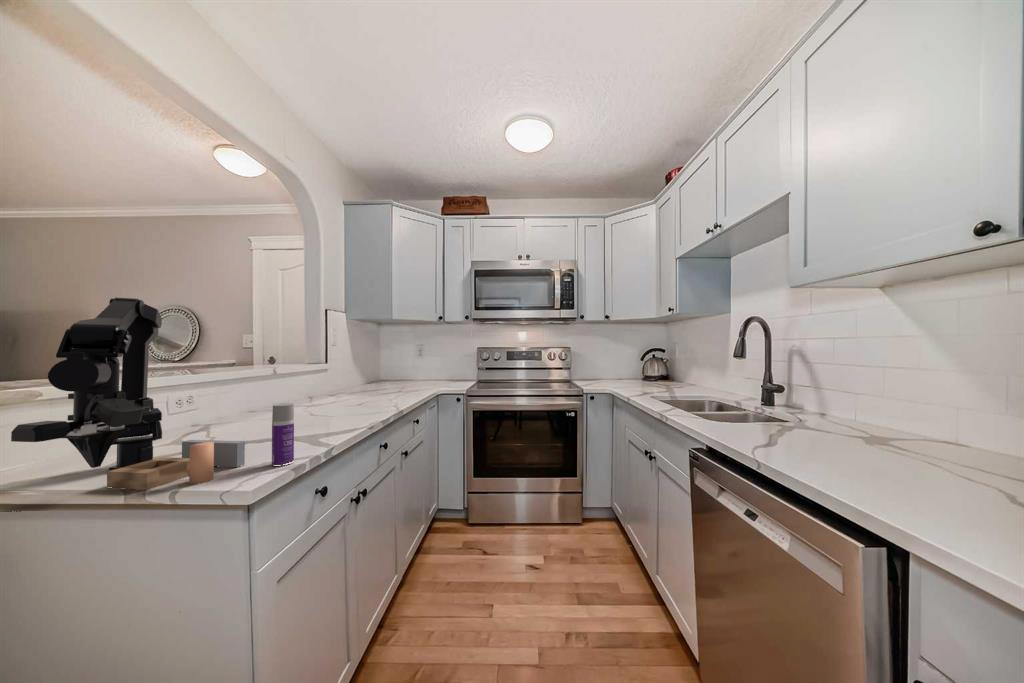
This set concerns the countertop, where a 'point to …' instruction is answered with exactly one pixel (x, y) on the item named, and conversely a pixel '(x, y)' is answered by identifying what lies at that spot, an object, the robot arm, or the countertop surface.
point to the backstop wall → (221, 452)
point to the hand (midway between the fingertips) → (95, 467)
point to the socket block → (149, 473)
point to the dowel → (201, 462)
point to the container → (282, 433)
